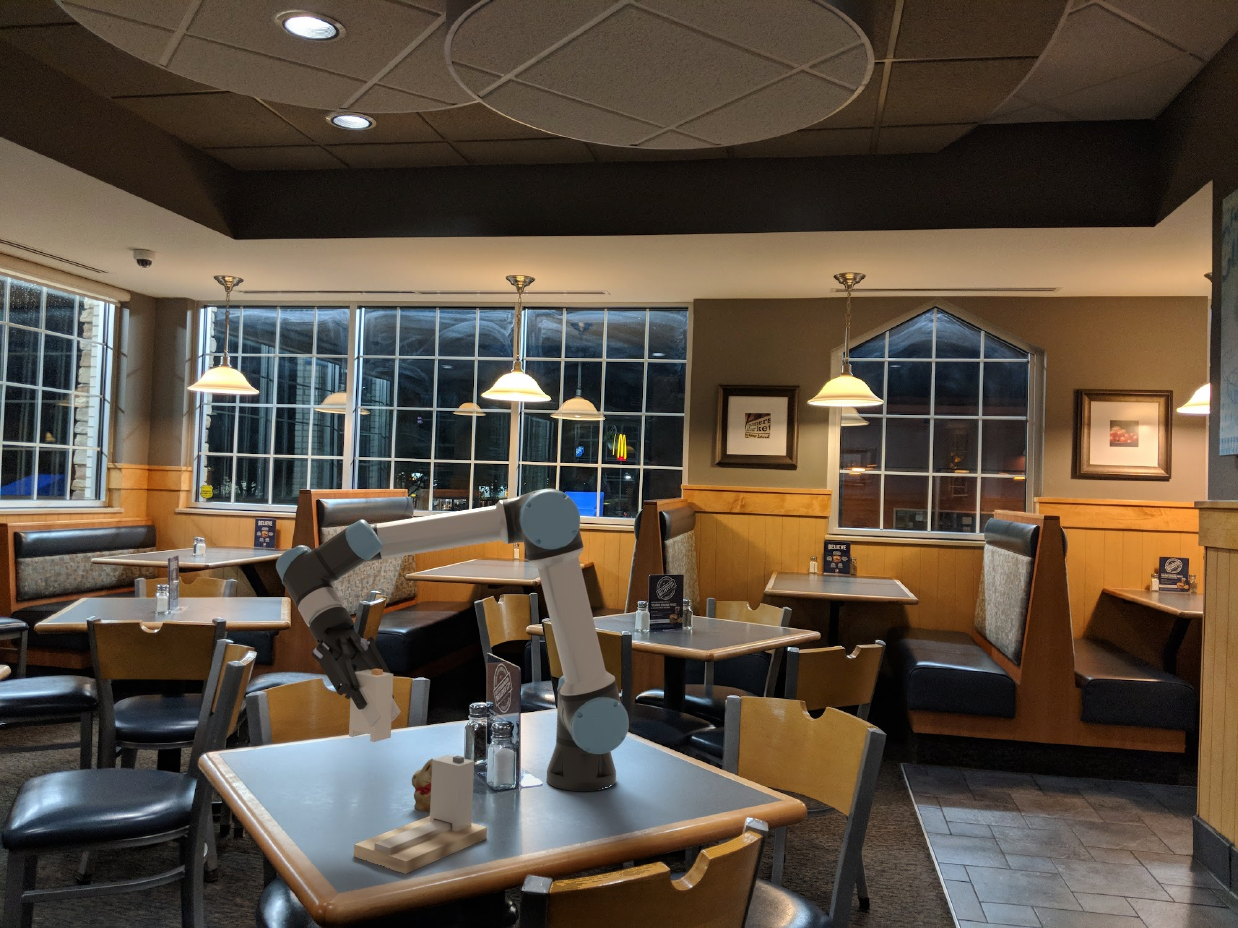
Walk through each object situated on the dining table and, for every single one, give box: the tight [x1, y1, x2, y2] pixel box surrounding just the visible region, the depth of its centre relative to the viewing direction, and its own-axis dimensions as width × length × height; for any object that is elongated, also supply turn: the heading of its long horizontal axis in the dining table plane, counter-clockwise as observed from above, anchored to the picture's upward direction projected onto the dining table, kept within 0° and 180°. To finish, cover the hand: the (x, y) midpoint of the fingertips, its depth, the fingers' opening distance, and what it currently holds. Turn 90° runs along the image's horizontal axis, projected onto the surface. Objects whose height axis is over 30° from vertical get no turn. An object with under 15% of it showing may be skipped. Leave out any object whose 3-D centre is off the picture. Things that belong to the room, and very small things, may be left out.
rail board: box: [353, 815, 488, 875], centre depth 161 cm, size 20×12×3 cm, turn 148°
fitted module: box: [429, 754, 475, 831], centre depth 167 cm, size 6×4×12 cm, turn 58°
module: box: [348, 669, 394, 743], centre depth 168 cm, size 6×4×12 cm, turn 58°
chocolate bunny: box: [411, 758, 434, 814], centre depth 181 cm, size 6×8×10 cm
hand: (385, 718), depth 166 cm, fingers closed on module, 4 cm apart
